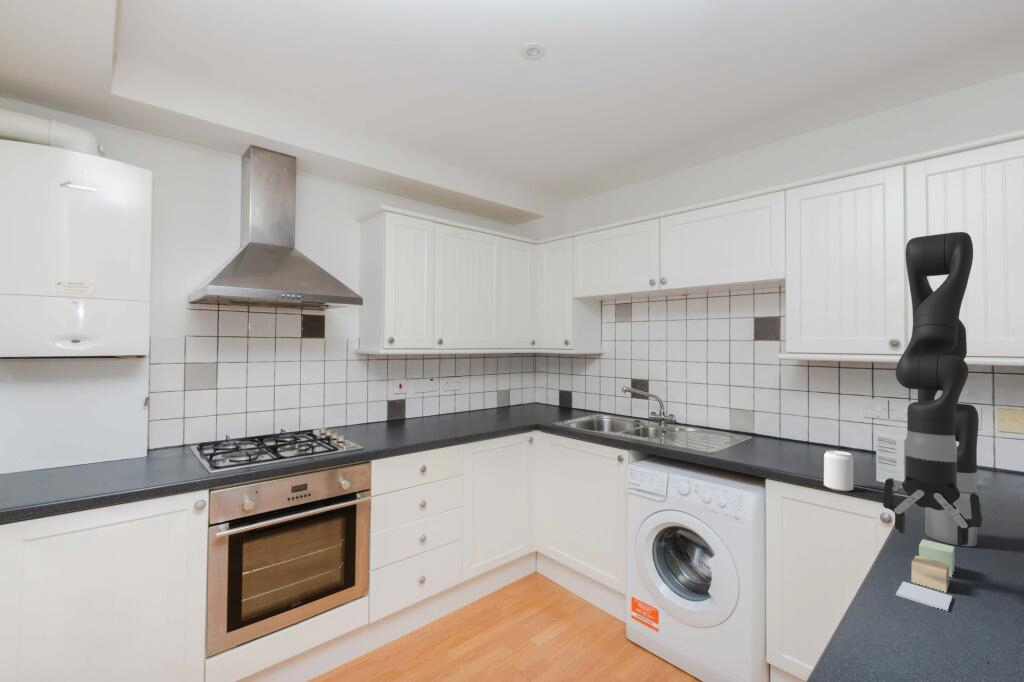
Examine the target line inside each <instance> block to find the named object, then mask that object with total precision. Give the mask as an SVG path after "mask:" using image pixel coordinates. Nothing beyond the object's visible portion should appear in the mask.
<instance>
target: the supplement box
mask: <svg viewBox="0 0 1024 682" xmlns="http://www.w3.org/2000/svg"><path fill="white" fill-rule="evenodd" d="M906 437H907V435H905V434H904V435H903V434H898V433H886V434H885V433H884V434H876V438H875V439H876V440H875V441H876V444H875V445H876V446H875V447H876V448H875V449H876V451H875V453H876V458H875V459H876V460H875V461H876V469H875V470H876V471H875V472H876V476H875V477H876V478H875V479H876V482H877V481H879V482H878V483H881V482H883V484H885V481H886V480H887V479H888V478H893V479H894V480H897V481H902V482H904V480H905V456H906V453H905V447H906ZM900 488H902V487H900ZM902 489H903V488H902Z"/></svg>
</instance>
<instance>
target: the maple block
mask: <svg viewBox="0 0 1024 682" xmlns="http://www.w3.org/2000/svg"><path fill="white" fill-rule="evenodd" d="M910 563H911V573H910V574H911V577H910V578H911V579H910V580H911V581H910V582H911V583H912V582H913V583H912V584H915V583H916V584H915V585H918V584H920V585H919V586H922V585H923V586H922V587H925V586H927V587H926V588H929V587H930V588H929V589H932V588H934V589H933V590H935V589H937V590H936V591H939V590H941V591H940V592H942V591H944V592H943V593H947V592H948V590H949V589H948V588H949V587H948V586H950V577H949V564H946V563H942V562H939V561H935V560H931V559H927V558H923V557H919V555H915V556H914V558H913V560H911V562H910Z"/></svg>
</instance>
